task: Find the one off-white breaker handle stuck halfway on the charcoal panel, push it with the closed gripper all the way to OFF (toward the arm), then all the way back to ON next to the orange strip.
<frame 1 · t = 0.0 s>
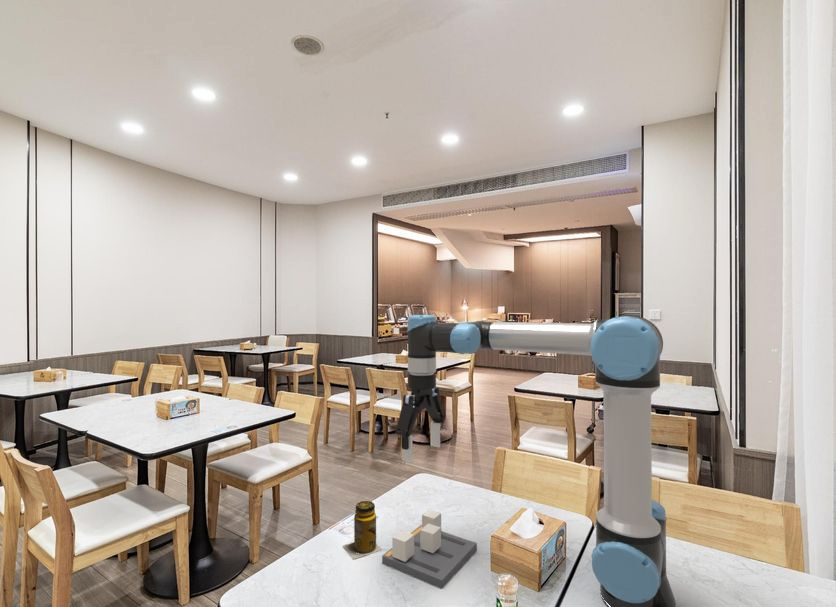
hand: (421, 453, 112), 28 cm above the table, tool pointing down, fingers open, 13 cm apart
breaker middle: (430, 538, 113), point 5 cm above the table, slide at 4.0 cm
condiment: (362, 549, 117), on the table
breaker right: (431, 522, 121), point 5 cm above the table, slide at 8.0 cm
breaker panel: (430, 556, 113), on the table
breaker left: (403, 545, 110), point 5 cm above the table, slide at 8.0 cm
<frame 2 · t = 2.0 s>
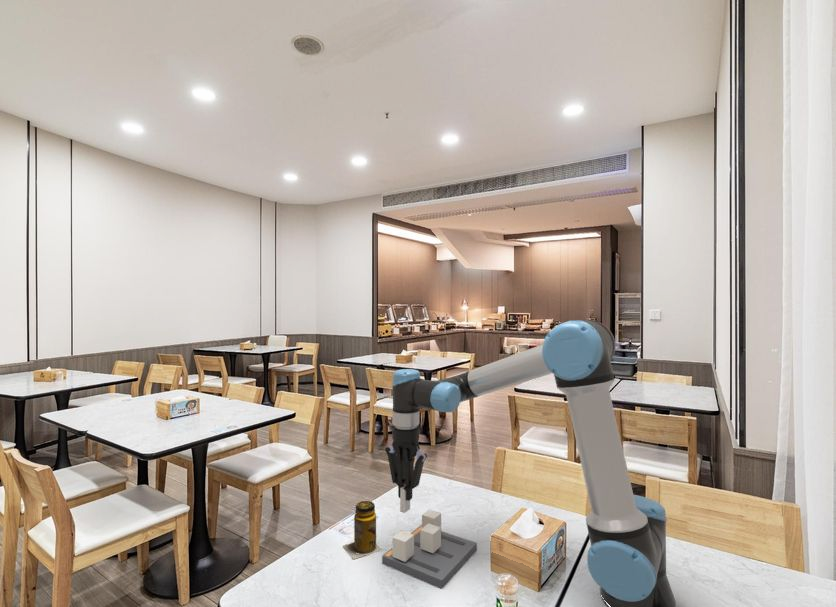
hand: (405, 510, 118), 10 cm above the table, tool pointing down, fingers closed
nothing on the table moved.
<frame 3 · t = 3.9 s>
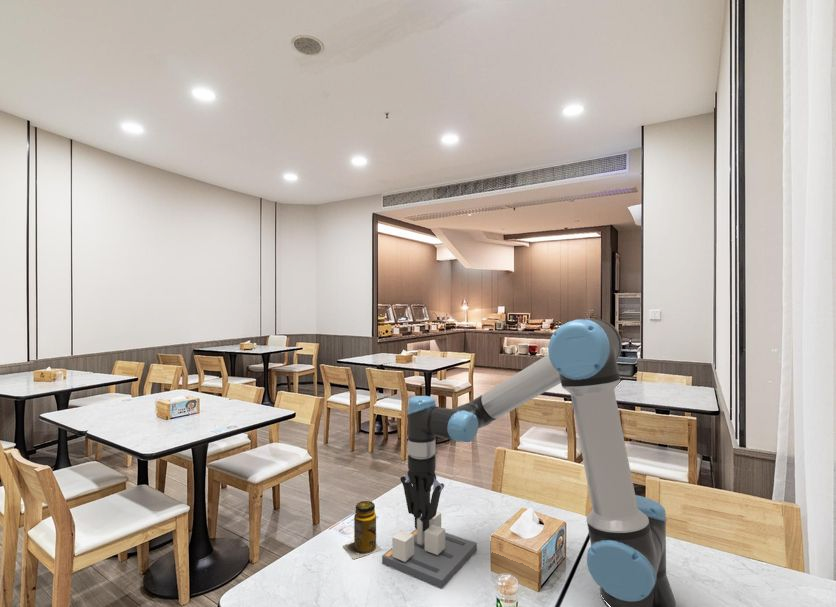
hand: (422, 541, 115), 3 cm above the table, tool pointing down, fingers closed
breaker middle: (435, 539, 113), point 5 cm above the table, slide at 2.6 cm, touching gripper
everything else where it was.
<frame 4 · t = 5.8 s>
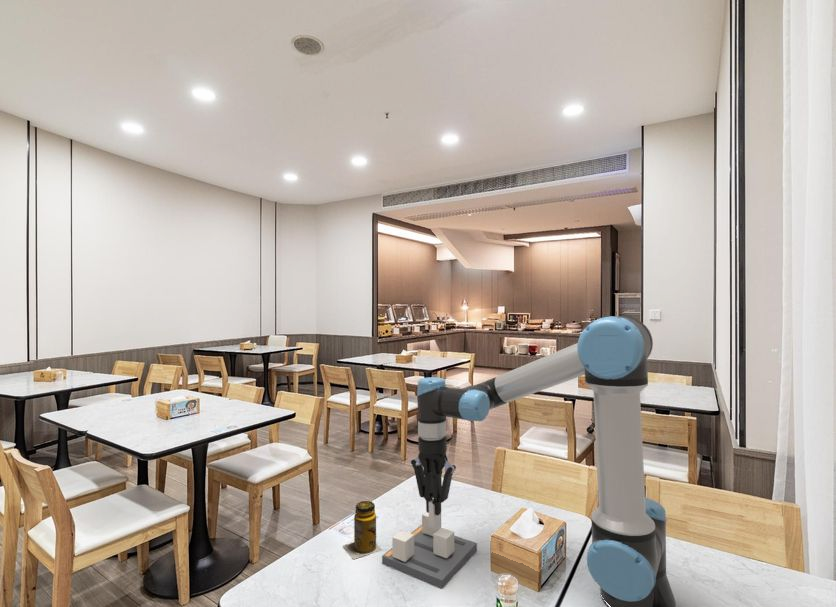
hand: (434, 525, 113), 9 cm above the table, tool pointing down, fingers closed
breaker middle: (443, 542, 111), point 5 cm above the table, slide at -0.1 cm
everything else where it was.
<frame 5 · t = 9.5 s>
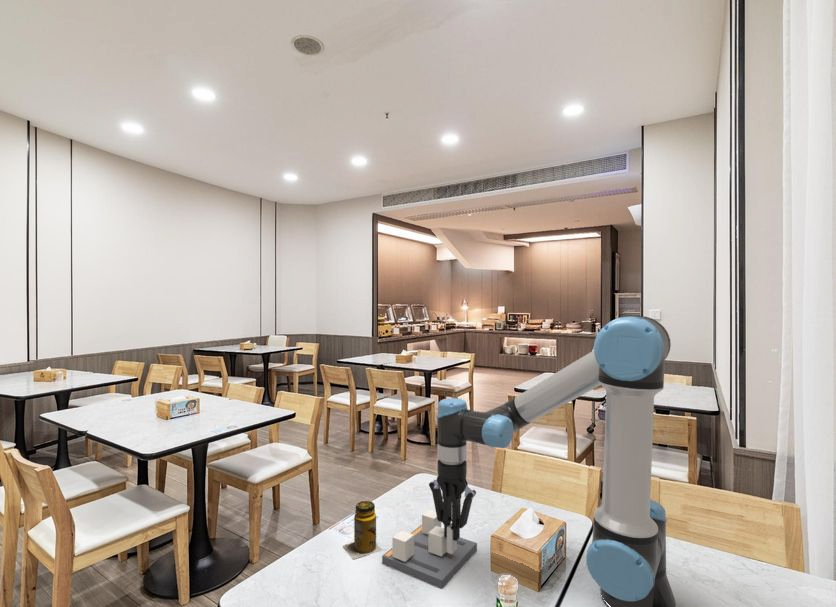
hand: (451, 550, 110), 4 cm above the table, tool pointing down, fingers closed
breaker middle: (438, 540, 112), point 5 cm above the table, slide at 1.5 cm, touching gripper
everything else where it was.
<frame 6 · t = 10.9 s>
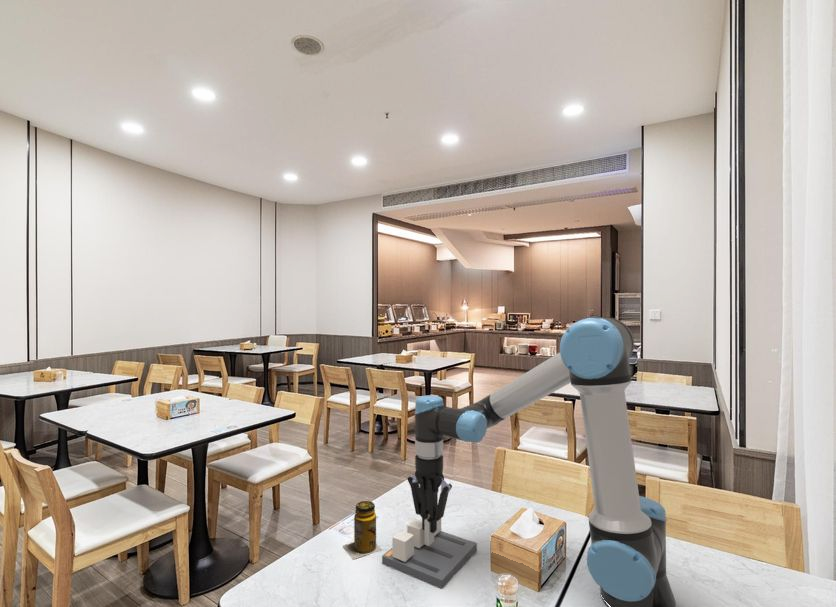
hand: (429, 542, 114), 4 cm above the table, tool pointing down, fingers closed
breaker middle: (417, 533, 116), point 5 cm above the table, slide at 8.2 cm, touching gripper
everything else where it was.
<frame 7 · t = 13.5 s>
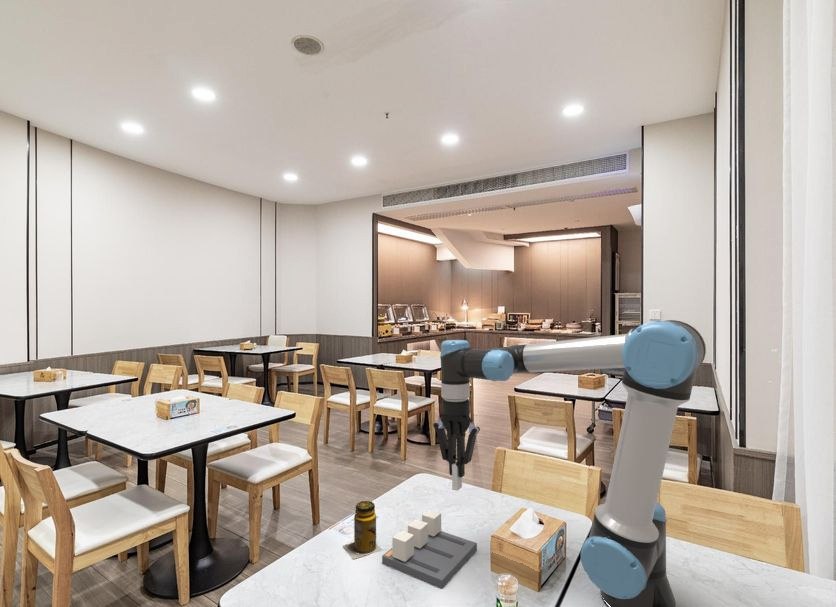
hand: (457, 488, 112), 19 cm above the table, tool pointing down, fingers closed
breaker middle: (418, 533, 116), point 5 cm above the table, slide at 8.1 cm
everything else where it was.
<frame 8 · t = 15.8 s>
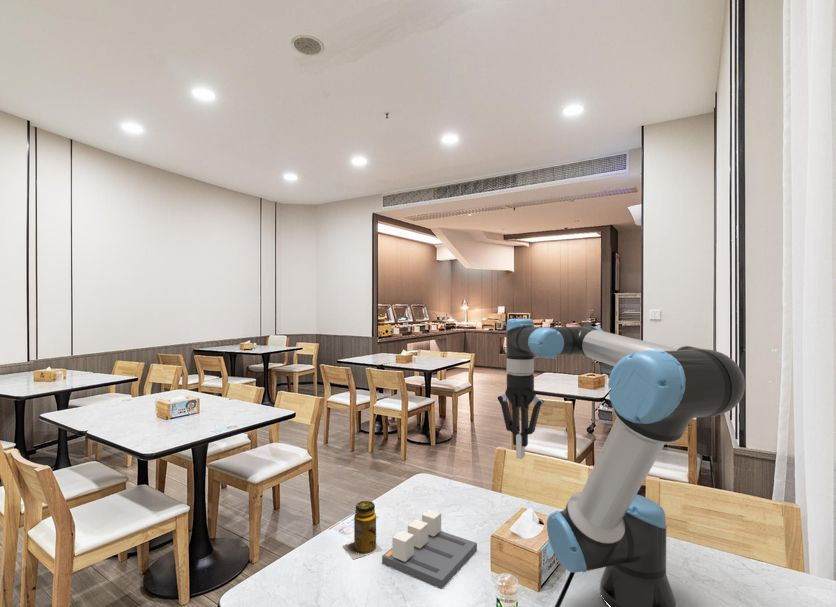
hand: (520, 457, 119), 24 cm above the table, tool pointing down, fingers closed
nothing on the table moved.
at the end: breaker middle slide at 8.1 cm; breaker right slide at 8.0 cm; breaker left slide at 8.0 cm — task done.
